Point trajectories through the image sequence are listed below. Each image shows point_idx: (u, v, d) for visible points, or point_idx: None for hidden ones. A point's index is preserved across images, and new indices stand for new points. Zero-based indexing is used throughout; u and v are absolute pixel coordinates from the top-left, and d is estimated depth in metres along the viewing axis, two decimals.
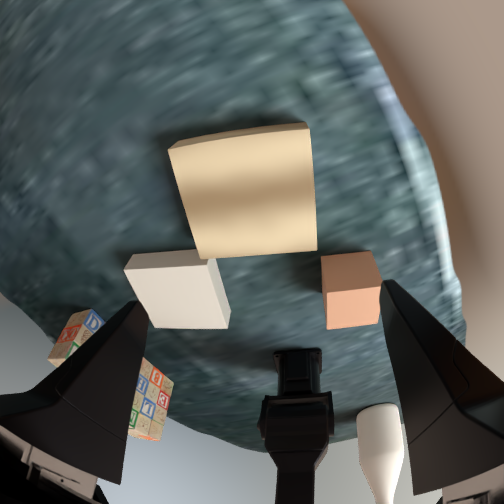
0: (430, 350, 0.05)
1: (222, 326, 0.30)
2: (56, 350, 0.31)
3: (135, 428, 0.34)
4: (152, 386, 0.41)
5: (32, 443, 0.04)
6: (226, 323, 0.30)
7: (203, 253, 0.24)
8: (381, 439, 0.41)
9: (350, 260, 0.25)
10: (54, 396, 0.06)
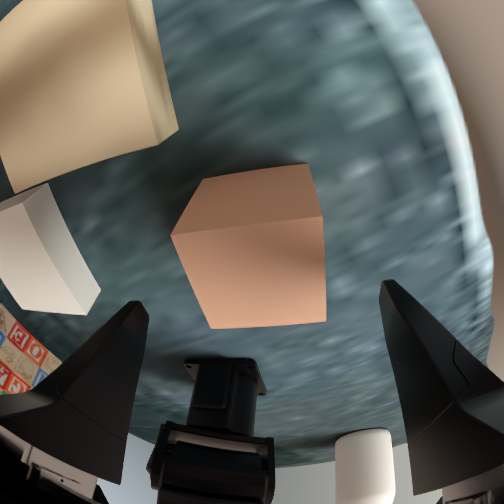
0: (430, 350, 0.05)
1: (79, 310, 0.17)
2: None
3: None
4: None
5: (32, 443, 0.04)
6: (83, 306, 0.17)
7: (14, 183, 0.11)
8: (364, 478, 0.27)
9: (256, 178, 0.12)
10: (54, 396, 0.06)
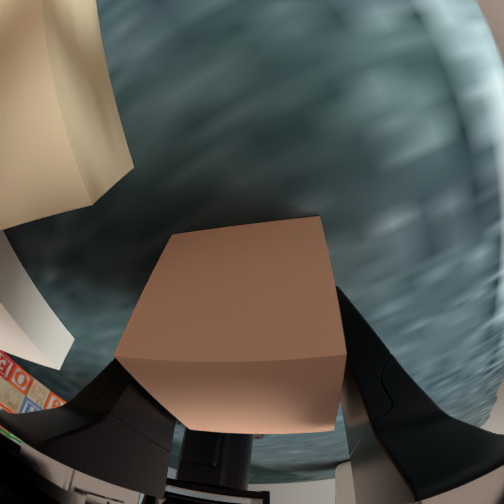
0: (356, 364, 0.06)
1: (51, 365, 0.13)
2: None
3: None
4: None
5: (77, 468, 0.04)
6: (54, 361, 0.13)
7: None
8: None
9: (244, 246, 0.08)
10: (99, 410, 0.05)
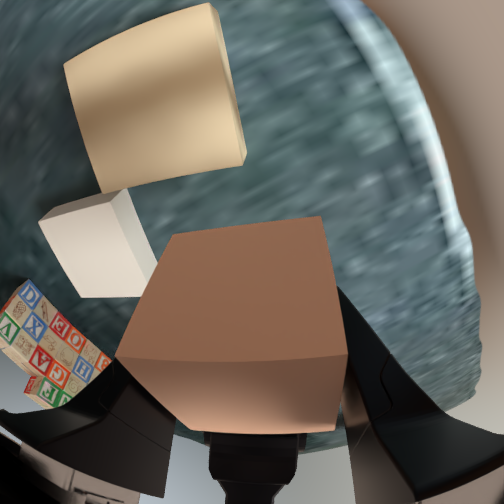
0: (356, 364, 0.06)
1: None
2: None
3: None
4: (97, 373, 0.33)
5: (77, 468, 0.04)
6: None
7: (104, 185, 0.17)
8: None
9: (245, 246, 0.08)
10: (99, 410, 0.05)
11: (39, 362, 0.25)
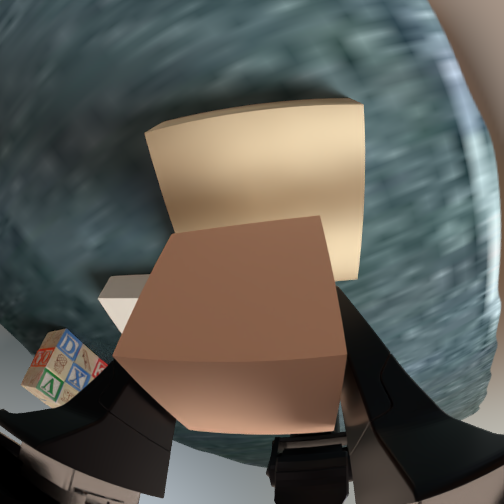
0: (356, 363, 0.06)
1: None
2: (29, 375, 0.23)
3: None
4: None
5: (77, 468, 0.04)
6: None
7: None
8: None
9: (244, 245, 0.08)
10: (99, 410, 0.05)
11: None
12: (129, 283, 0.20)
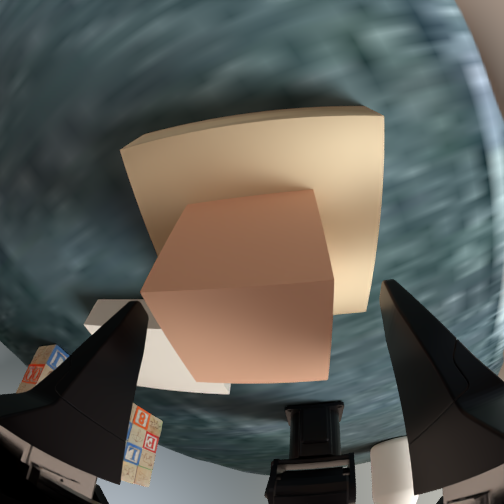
0: (431, 350, 0.05)
1: (222, 392, 0.21)
2: (20, 392, 0.21)
3: None
4: (136, 428, 0.31)
5: (32, 443, 0.04)
6: (227, 388, 0.21)
7: None
8: (397, 476, 0.32)
9: (250, 210, 0.10)
10: (54, 396, 0.06)
11: None
12: (116, 309, 0.18)
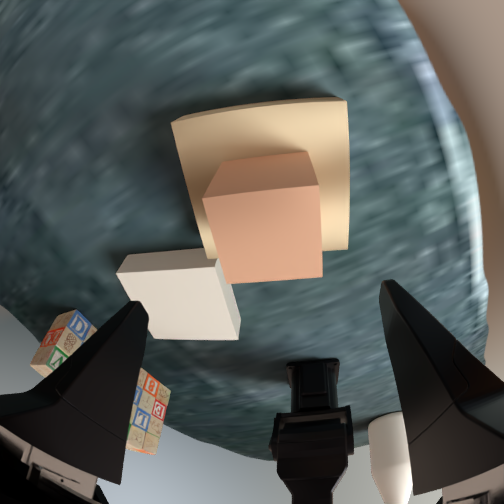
0: (430, 350, 0.05)
1: (232, 337, 0.26)
2: (38, 355, 0.26)
3: (127, 442, 0.29)
4: (146, 395, 0.36)
5: (32, 443, 0.04)
6: (236, 333, 0.26)
7: (211, 252, 0.20)
8: (395, 450, 0.36)
9: (267, 161, 0.15)
10: (54, 396, 0.06)
11: None
12: (145, 259, 0.23)
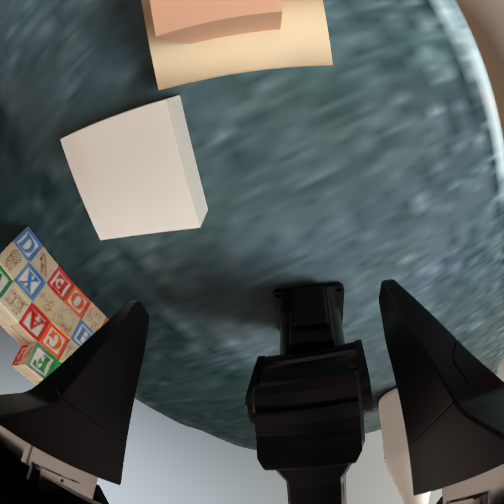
0: (430, 350, 0.05)
1: (192, 223, 0.19)
2: None
3: None
4: None
5: (32, 443, 0.04)
6: (198, 217, 0.19)
7: (163, 79, 0.14)
8: None
9: None
10: (54, 396, 0.06)
11: (32, 324, 0.21)
12: (95, 123, 0.17)
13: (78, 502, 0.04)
